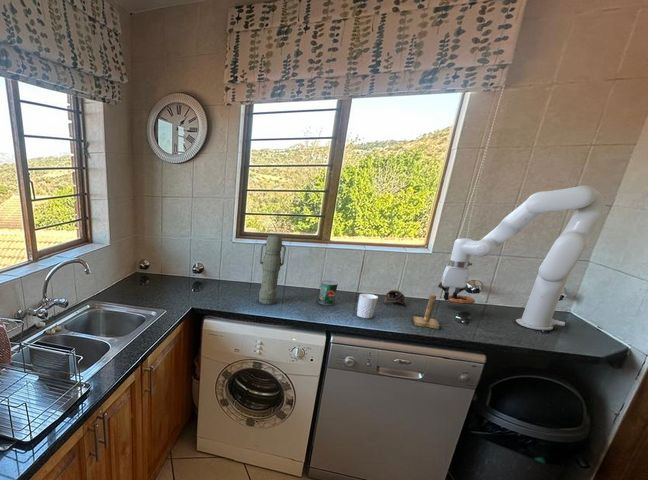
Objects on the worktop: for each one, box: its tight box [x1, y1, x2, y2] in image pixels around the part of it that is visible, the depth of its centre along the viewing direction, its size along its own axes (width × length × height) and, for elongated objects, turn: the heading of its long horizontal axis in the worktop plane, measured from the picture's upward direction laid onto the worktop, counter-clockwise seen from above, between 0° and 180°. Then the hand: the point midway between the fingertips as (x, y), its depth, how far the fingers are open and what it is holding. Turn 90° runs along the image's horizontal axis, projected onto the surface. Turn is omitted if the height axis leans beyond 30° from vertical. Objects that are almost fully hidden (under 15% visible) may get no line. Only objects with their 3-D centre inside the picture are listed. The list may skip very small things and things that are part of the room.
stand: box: [412, 294, 440, 330], centre depth 181 cm, size 9×9×14 cm
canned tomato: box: [317, 280, 339, 306], centre depth 210 cm, size 8×8×11 cm
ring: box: [447, 294, 476, 305], centre depth 201 cm, size 11×11×2 cm
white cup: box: [356, 293, 379, 319], centre depth 191 cm, size 8×8×10 cm
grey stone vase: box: [258, 233, 287, 305], centre depth 206 cm, size 9×12×35 cm
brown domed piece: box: [383, 289, 406, 306], centre depth 210 cm, size 12×10×8 cm
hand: (449, 300), depth 203 cm, fingers closed on ring, 2 cm apart
